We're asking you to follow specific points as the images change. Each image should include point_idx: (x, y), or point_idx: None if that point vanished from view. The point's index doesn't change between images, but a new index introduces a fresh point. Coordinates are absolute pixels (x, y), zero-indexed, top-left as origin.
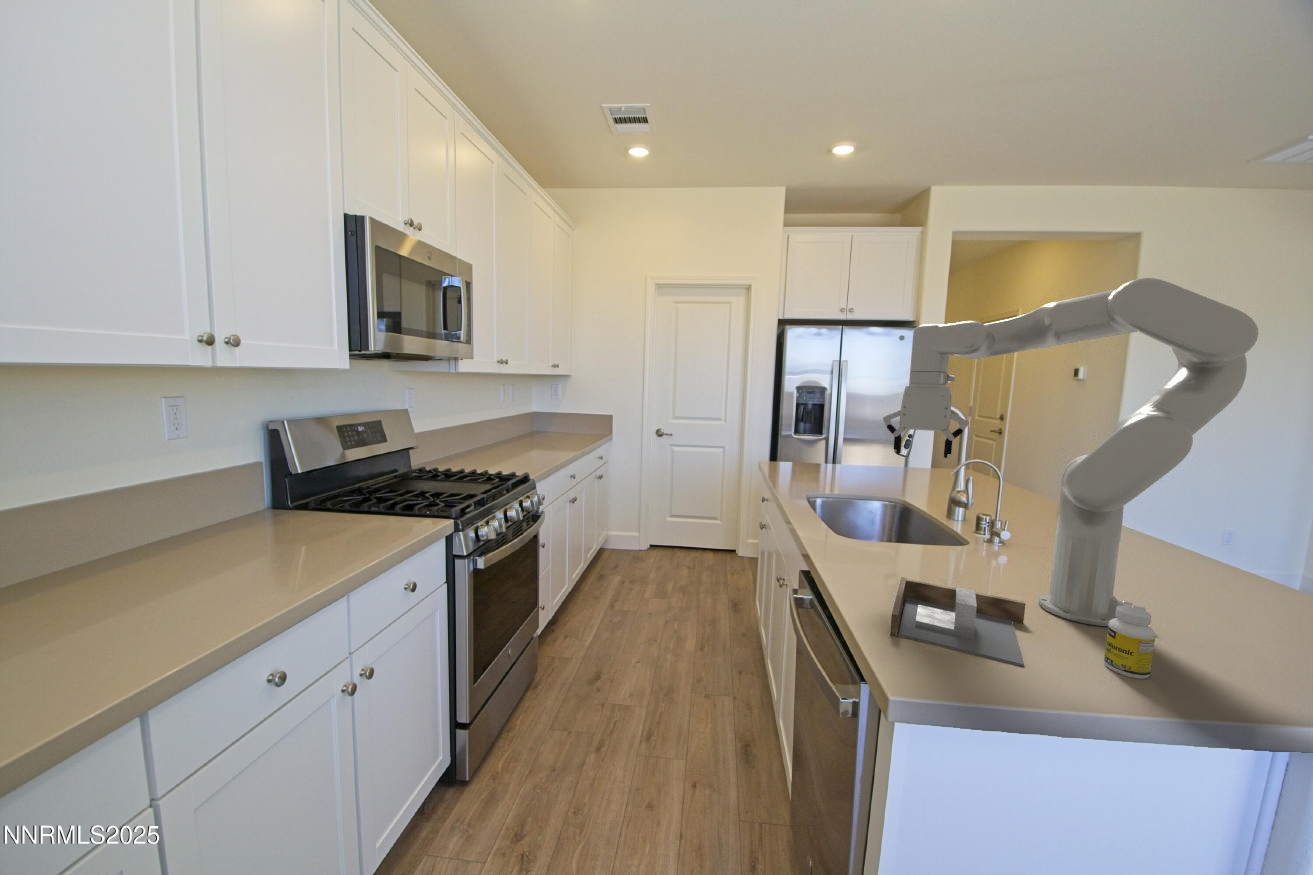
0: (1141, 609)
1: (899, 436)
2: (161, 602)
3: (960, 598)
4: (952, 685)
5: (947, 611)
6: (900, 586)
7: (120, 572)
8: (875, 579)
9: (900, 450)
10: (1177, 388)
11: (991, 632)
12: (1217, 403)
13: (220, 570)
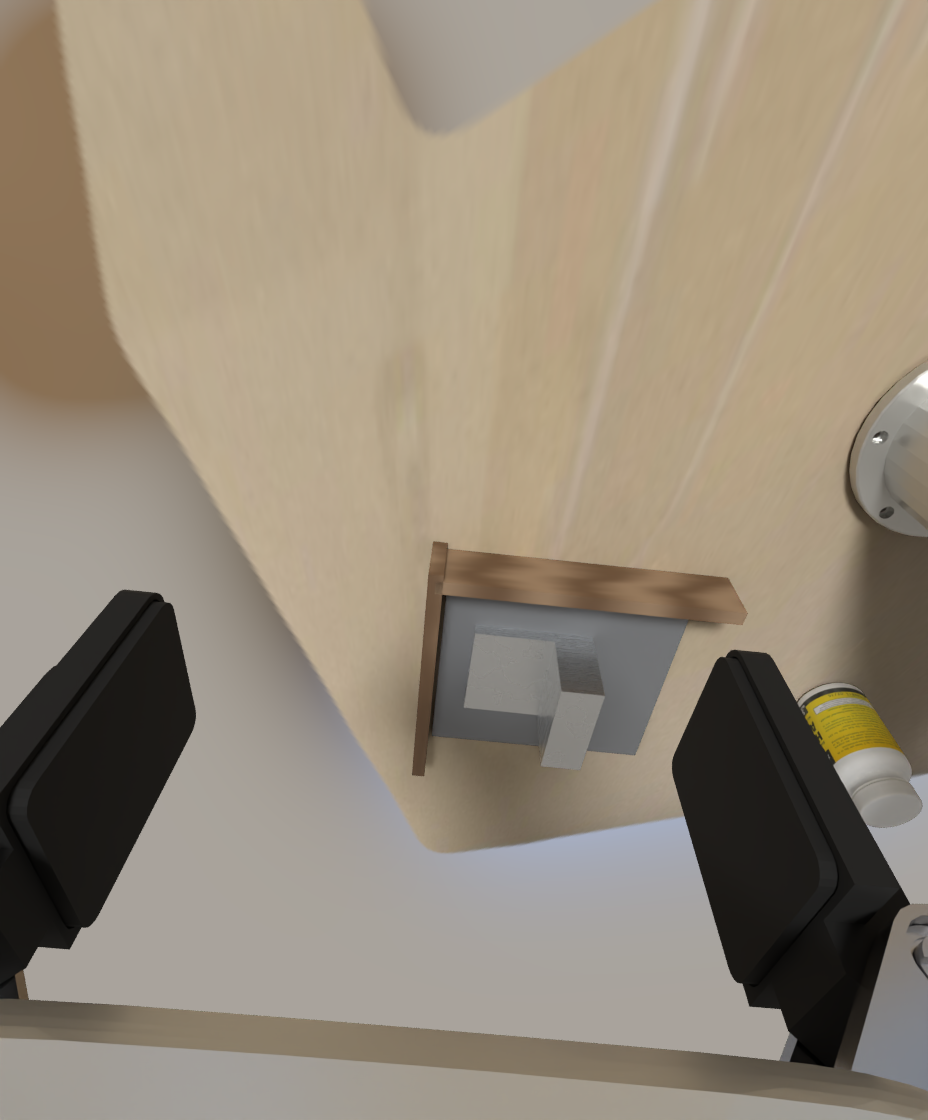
0: (919, 800)
1: (37, 921)
2: None
3: (554, 747)
4: (505, 821)
5: (540, 642)
6: (427, 642)
7: None
8: (354, 442)
9: (165, 662)
10: None
11: (620, 669)
12: None
13: None
